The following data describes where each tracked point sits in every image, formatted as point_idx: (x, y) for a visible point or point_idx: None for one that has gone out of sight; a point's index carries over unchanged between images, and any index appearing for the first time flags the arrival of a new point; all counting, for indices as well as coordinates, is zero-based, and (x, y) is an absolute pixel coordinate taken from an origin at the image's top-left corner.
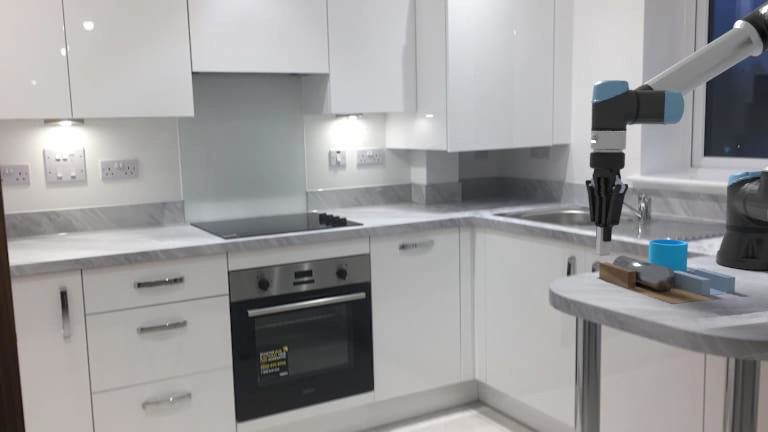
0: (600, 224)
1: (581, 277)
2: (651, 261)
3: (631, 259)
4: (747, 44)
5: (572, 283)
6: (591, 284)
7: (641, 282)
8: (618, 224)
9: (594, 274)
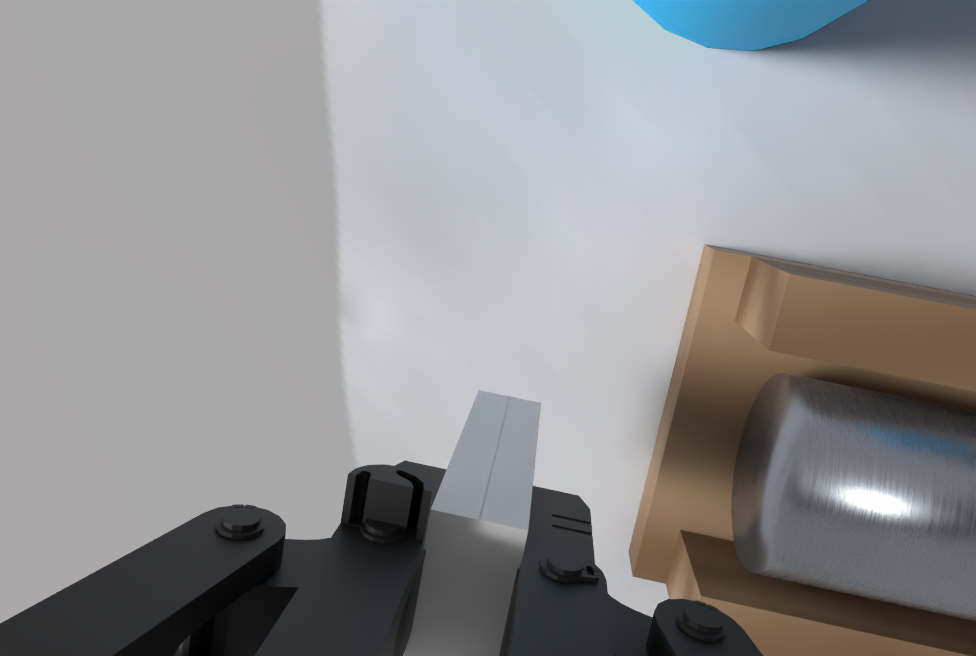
0: (407, 637)
1: None
2: (730, 15)
3: (974, 582)
4: None
5: None
6: (608, 572)
7: None
8: (730, 620)
9: (379, 325)
